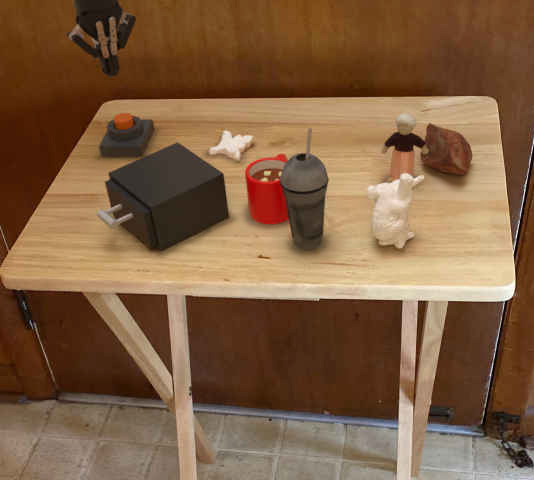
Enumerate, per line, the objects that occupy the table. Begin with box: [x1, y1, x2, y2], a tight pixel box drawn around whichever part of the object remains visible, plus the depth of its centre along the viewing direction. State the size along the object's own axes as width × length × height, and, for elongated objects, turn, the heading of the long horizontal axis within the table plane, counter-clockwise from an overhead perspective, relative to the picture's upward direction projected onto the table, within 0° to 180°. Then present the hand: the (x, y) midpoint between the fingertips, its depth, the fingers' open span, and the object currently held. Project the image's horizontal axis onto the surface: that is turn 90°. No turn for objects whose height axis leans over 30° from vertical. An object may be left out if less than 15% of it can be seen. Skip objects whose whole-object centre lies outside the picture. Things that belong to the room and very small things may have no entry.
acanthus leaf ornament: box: [208, 130, 254, 162], centre depth 151 cm, size 8×7×2 cm
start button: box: [113, 112, 134, 130], centre depth 154 cm, size 4×4×2 cm
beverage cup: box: [280, 127, 330, 252], centre depth 122 cm, size 7×7×20 cm
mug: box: [244, 153, 289, 225], centre depth 135 cm, size 8×12×8 cm, turn 164°
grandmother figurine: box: [380, 112, 428, 183], centre depth 135 cm, size 8×4×13 cm, turn 89°
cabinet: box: [107, 142, 230, 252], centre depth 134 cm, size 14×14×9 cm
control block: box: [98, 115, 155, 157], centre depth 155 cm, size 10×8×4 cm
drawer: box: [96, 178, 158, 249], centre depth 133 cm, size 17×12×7 cm
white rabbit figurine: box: [365, 173, 425, 250], centre depth 124 cm, size 8×7×12 cm
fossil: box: [419, 122, 473, 176], centre depth 140 cm, size 13×8×10 cm
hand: (111, 74), depth 147 cm, fingers closed
